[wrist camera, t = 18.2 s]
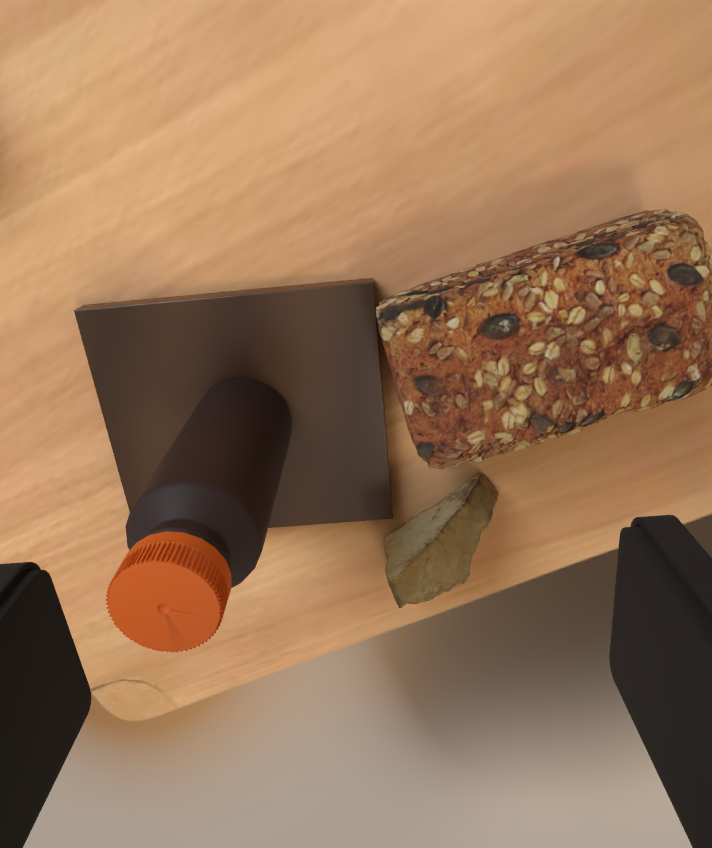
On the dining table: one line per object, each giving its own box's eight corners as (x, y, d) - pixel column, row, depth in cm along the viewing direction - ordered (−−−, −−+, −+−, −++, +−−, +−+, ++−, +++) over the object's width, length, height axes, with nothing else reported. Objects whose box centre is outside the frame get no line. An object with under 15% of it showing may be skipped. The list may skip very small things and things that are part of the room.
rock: (494, 447, 44) (359, 489, 44) (544, 560, 40) (395, 607, 40) (488, 505, 54) (377, 539, 54) (528, 601, 49) (407, 639, 49)
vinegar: (312, 425, 45) (278, 615, 26) (245, 480, 47) (169, 693, 28) (245, 356, 43) (157, 510, 24) (177, 416, 45) (49, 601, 26)
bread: (413, 424, 46) (425, 492, 37) (370, 286, 42) (371, 324, 33) (670, 351, 44) (751, 404, 35) (650, 197, 40) (736, 211, 31)
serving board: (373, 277, 42) (373, 282, 41) (392, 508, 49) (393, 518, 48) (82, 304, 43) (73, 310, 42) (142, 527, 50) (136, 538, 49)
